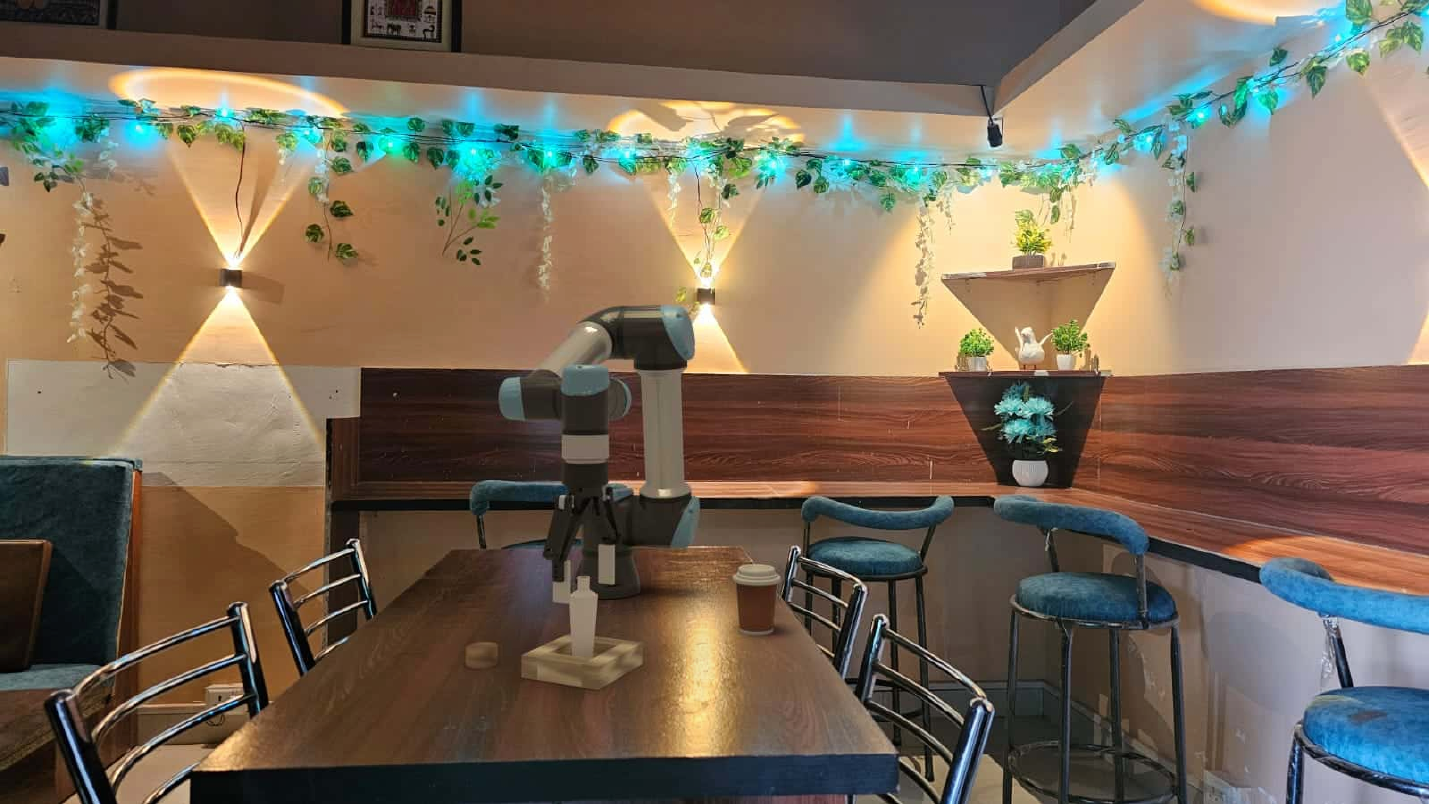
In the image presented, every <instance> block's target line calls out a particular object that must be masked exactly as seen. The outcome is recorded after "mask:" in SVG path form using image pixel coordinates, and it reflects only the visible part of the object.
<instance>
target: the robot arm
mask: <svg viewBox="0 0 1429 804" xmlns="http://www.w3.org/2000/svg"><path fill="white" fill-rule="evenodd" d="M695 346H696V340H695V332H694V326H693V323H692V319H691V316H690V315H689V312H688V311H687V310H686V308H684V307H683V306H680V305H669V304H655V305H654V304H653V305H616V306H610V307H606V308H603V309H600V310H598V311H596V312H593V313H592V314H590V315H588V316H586V317H585V318H583V319H582V320H580V321H579V322H578V323H576V324H575V325H574V326H573V327H572V328H571V329H570V331H569V333H568V336H567V339H566V340H565V341H564V342H563V343H562V344H561V345H560V346H559V347H558V348H556V349H555V350H554V351H553V352H552V353H551V354H550V355H549V356H548V357H547V358H546V359H545V360H544V361H542V362H541V364H539V365H538V366H537V367H536V368H535V369H534V370H533V371H532V372H531V373H529V374H528V375H527V376H526V377H521V376H517V377H508V378H506V379H504V380H503V381H502V383H501V385H500V387H499V392H498V403H499V410H500V413H501V414H502V415H503V417H504V418H506V419H508V420H511V421H512V420H513V421H514V420H515V421H516V420H517V421H523V422H528V421H529V422H530V421H533V422H535V421H536V422H537V421H543V422H545V421H546V422H547V421H548V422H549V421H551V422H552V421H553V422H555V421H556V422H557V421H559V422H560V421H561V434H562V435H561V458H562V460H564V461H565V462H563V463H562V464H561V484H562V485H563V486H564V487H567V489H568V490H567V494H563V495H562V494H557V495H556V496H555V497H554V509H553V513H552V517H551V522H550V525H549V528H548V532H547V537H546V540H545V543H544V547H543V551H542V558H543V559H545V560H548V561H551V565H552V566H551V569H552V570H551V579H552V603H558V604H569V603H570V594H571V560H570V559H569V560H568V557H569V554H570V552H571V549H572V546H573V544H574V542H575V539H576V538H577V535H578V532H579V530H580V529H581V530H580V532H581V534H580V537H581V538H580V542H581V543H580V544H581V547H580V549H581V554H580V560H579V561H580V562H579V564H578V568H577V570H576V573H575V576H574V580H573V584H572V593H573V592H575V591H576V590H578V579H577V577H579V576H589V577H590V582H589V589H590V590H591V591H593V592H594V593H596V594H597V595H598V599H597V600H613V599H624V598H629V597H633V596H636V595H638V594H640V593H641V579H640V577H639V574H638V570H637V567H636V564H635V560H634V550H633V549H634V548H651V549H652V548H654V549H669V550H674V549H675V550H676V549H687V548H689V547H690V546H691V545H692V544H693V542H694V540H695V537H696V534H697V530H698V525H699V520H700V511H701V503H700V498H699V497H698V496H696V495H692V487H691V485H689V483H687V482H686V481H685V470H684V469H685V467H684V465H685V464H684V438H683V437H684V435H683V409H682V406H683V404H682V402H683V401H682V374H683V373H684V372H685V371H686V370H687V369H688V361H691V360H693V359H694V357H695V354H696V353H695V352H696V347H695ZM609 360H611V361H613V360H623V361H628V360H629V361H633V370H634V371H635V372H636V373H637V374H638V375H639V376H640V377H641V380H640V381H641V404H642V405H641V406H642V422H643V423H642V426H643V427H642V428H643V449H644V450H643V451H644V452H643V453H644V469H645V471H644V474H645V476H644V477H645V482H644V483H643V485H641V486H640V488H639V489H638V492H639V494H635V491H634V488H631V487H624V488H623V487H622V488H613V487H612V486H607V485H608V484H609V482H610V479H609V478H610V477H609V476H610V472H609V471H610V470H609V469H610V464H609V463H608V462H607V461H606V460H607V459H609V458H610V435H609V433H610V429H609V427H610V422H615V421H617V420H619V419H621V418H623V417H624V416H626V414H627V413H628V412H629V410H630V408H631V406H632V400H633V399H632V394H631V391H630V389H629V387H628V385H626V383H624V382H623V381H622V380H620V379H617V378H615V377H612V376H611V377H610V374H609V373H610V372H609V368H608V367H607V366H606V365H602V364H603V363H604V362H606V361H609Z"/></svg>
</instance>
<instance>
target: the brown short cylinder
mask: <svg viewBox="0 0 1429 804" xmlns="http://www.w3.org/2000/svg"><path fill="white" fill-rule="evenodd" d="M498 646H499V645H498V644H497V643H494V642H491V641H490V642H489V641H483V642H482V641H481V642H474V643H470V644H468V645H466V647H465V666H466V668H468V669H471V670H472V669H473V670H482V669H483V670H484V669H489V668H493V667H496V666H497V665H498Z"/></svg>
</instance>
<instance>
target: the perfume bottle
mask: <svg viewBox="0 0 1429 804" xmlns="http://www.w3.org/2000/svg"><path fill="white" fill-rule="evenodd" d="M577 579H578V590H576V591H575V592H573V591H572V593H570V603H568V604H569V607H568V608H569V620H570V633H571V641H572V656H576V657H583V658H590V659H593V648H594V636H596V635H595V634H596V622H597V608H598V600H599V599H598V595H597V594H596V593H594V592H593V591H591V590H590V589H589V582H590V577H589V576H579V577H577Z"/></svg>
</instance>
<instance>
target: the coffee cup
mask: <svg viewBox="0 0 1429 804" xmlns="http://www.w3.org/2000/svg"><path fill="white" fill-rule="evenodd" d="M732 581H733V582H734V583H735V586H736V599H737V615H738V616H737V617H738V629H739V630H738V631H739V632H740V633H741V634H744V635H747V636H766V635H767V636H768V635H770V634H773V632H774V626H775V625H774V624H775V611H776V602H777V589H778V584H779V583H781V581H782V578H781V576H780V575H779V574H778V573H777V572H776V567H774V566H773V565H768V564H759V563H758V564H757V563H756V564H755V563H753V564H749V563H748V564H743V565H740V566H739V567H738V568H737V572H736V573H735V574H734V575H732Z"/></svg>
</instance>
